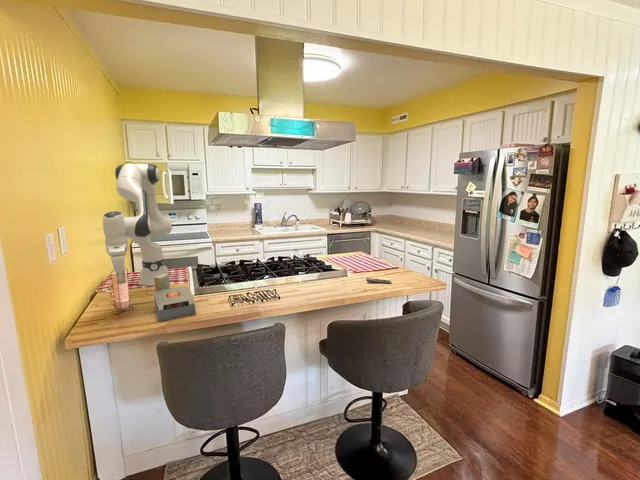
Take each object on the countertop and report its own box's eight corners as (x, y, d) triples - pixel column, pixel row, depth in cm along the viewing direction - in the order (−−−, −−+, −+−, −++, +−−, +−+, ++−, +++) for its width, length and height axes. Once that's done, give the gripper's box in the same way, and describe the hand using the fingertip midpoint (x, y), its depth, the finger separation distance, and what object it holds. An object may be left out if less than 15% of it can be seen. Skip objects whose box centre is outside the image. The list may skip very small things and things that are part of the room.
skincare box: (165, 294, 188) (163, 273, 185) (171, 295, 186) (169, 274, 184) (155, 298, 182) (153, 276, 179) (162, 299, 180) (159, 277, 178)
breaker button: (168, 300, 167) (167, 293, 166) (178, 298, 169) (177, 291, 168) (169, 304, 163) (168, 296, 162) (179, 302, 165) (179, 294, 164)
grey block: (118, 282, 160) (116, 269, 159) (125, 281, 162) (124, 268, 160) (118, 284, 157) (116, 270, 156) (125, 283, 159) (124, 269, 158)
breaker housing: (155, 306, 171) (153, 291, 170) (188, 300, 179) (187, 285, 177) (158, 321, 154) (156, 304, 153) (195, 314, 162) (194, 297, 160)
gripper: (110, 244, 163) (114, 271, 166) (108, 253, 146) (112, 283, 149) (125, 242, 166) (128, 269, 169) (125, 251, 149) (129, 281, 152)
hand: (121, 276), depth 159 cm, fingers closed on grey block, 3 cm apart
